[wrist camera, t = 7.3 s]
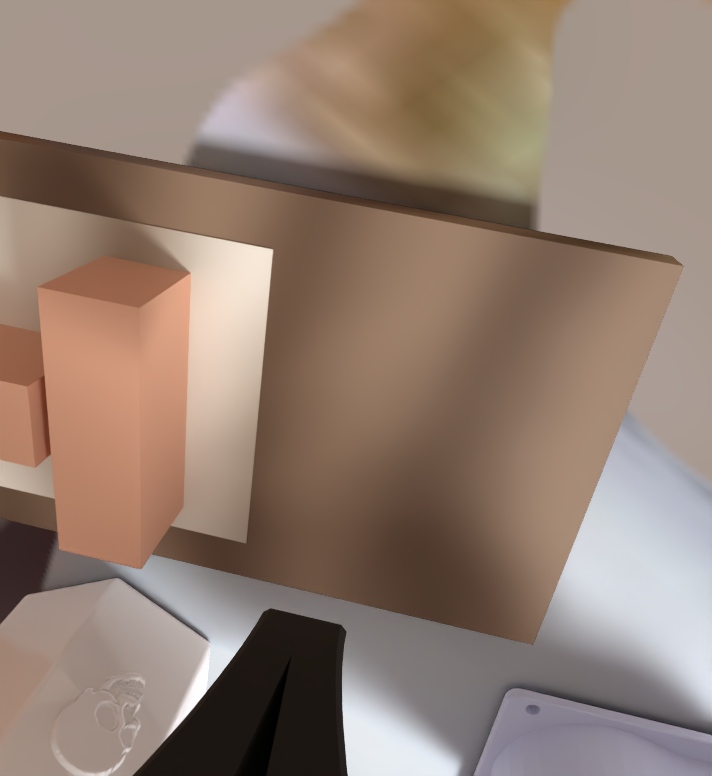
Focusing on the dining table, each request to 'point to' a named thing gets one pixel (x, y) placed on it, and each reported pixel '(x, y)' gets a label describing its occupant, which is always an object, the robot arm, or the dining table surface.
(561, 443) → the board
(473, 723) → the dining table surface
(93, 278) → the t block
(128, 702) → the jar
